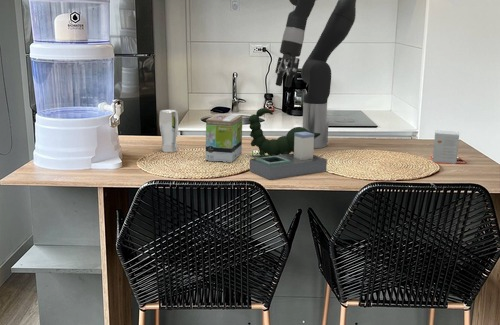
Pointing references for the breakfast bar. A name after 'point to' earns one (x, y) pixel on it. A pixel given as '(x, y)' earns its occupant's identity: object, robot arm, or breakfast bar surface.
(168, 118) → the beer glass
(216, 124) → the tea box
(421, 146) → the breakfast bar surface
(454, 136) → the small box
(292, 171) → the panel
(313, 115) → the robot arm
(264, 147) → the toy figurine
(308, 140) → the plug
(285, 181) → the breakfast bar surface
